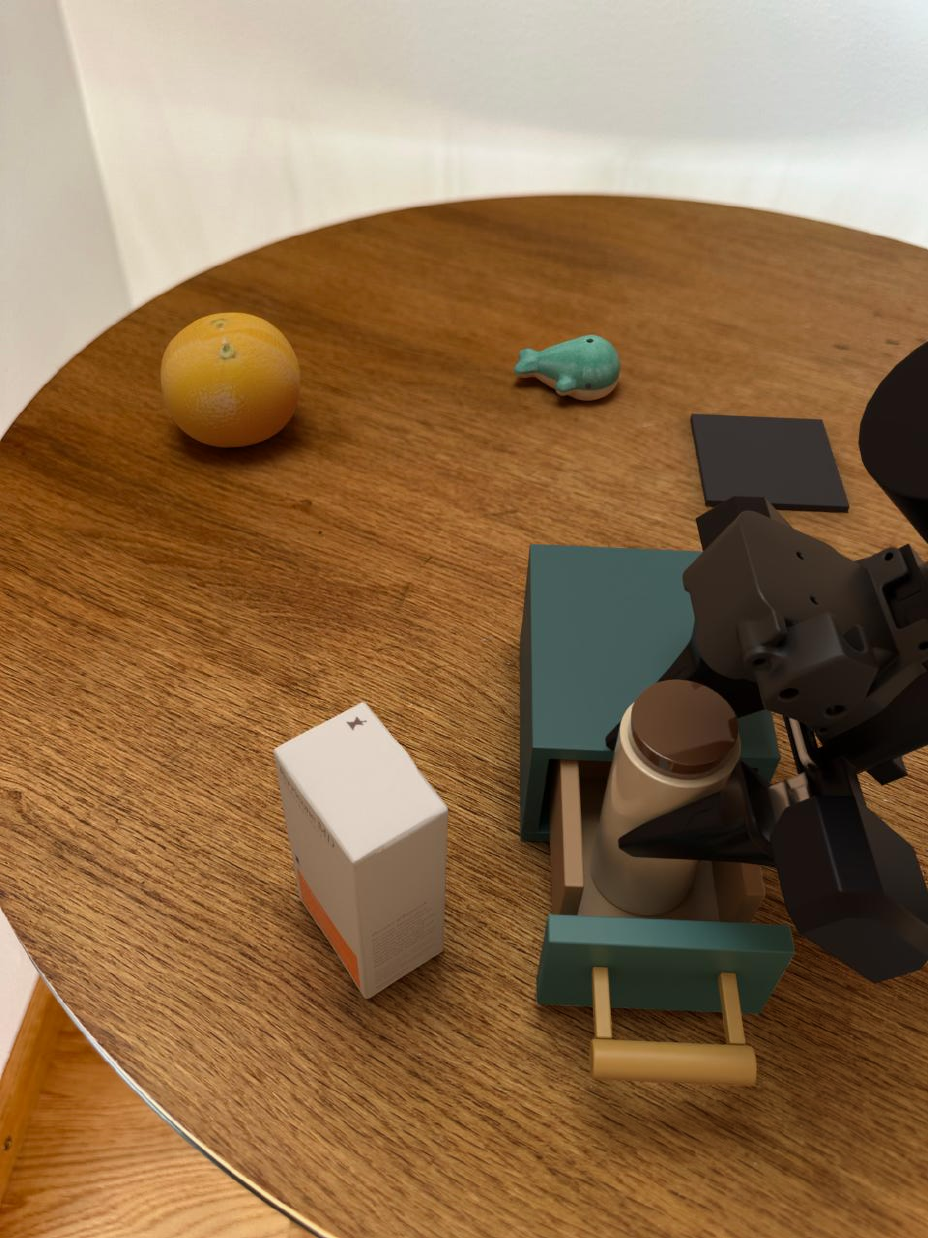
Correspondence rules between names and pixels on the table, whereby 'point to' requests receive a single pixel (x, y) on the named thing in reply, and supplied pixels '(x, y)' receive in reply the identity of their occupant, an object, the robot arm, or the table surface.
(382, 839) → the cosmetic box
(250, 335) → the fruit
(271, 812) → the table surface
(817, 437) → the mat
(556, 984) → the drawer
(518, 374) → the whale figurine
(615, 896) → the spice jar
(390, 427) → the table surface
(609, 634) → the cabinet
